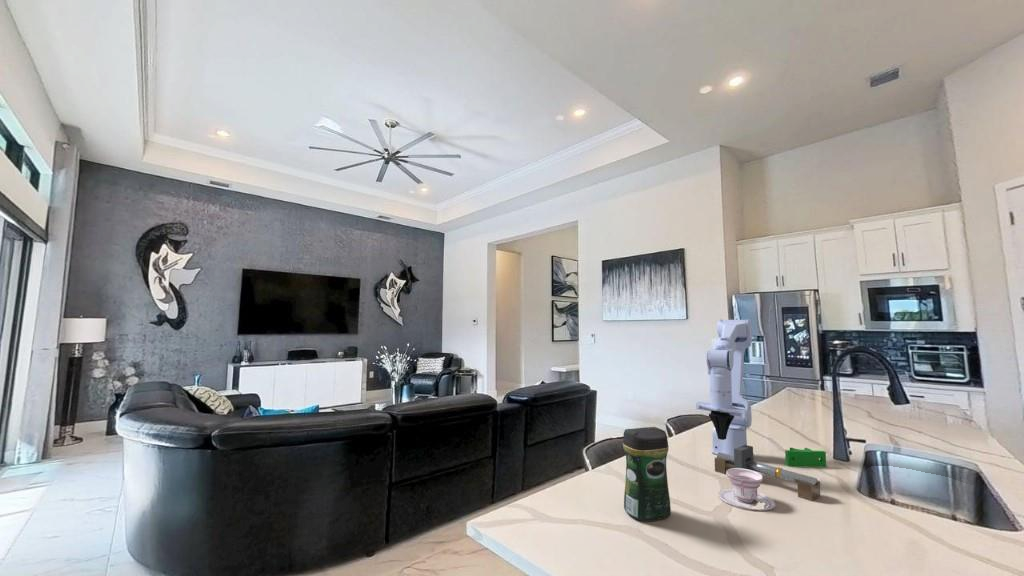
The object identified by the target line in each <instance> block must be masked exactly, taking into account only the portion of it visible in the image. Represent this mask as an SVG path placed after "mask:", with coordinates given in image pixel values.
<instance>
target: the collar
mask: <svg viewBox="0 0 1024 576" xmlns="http://www.w3.org/2000/svg"><path fill="white" fill-rule="evenodd" d="M744 459H747V460H751V461H754V447H753V446H752V445H748V444H747V445H744V446H741V447H738V448H735V449H734V468H743V469H746V468H745V461H744ZM752 471H753V470H752Z"/></svg>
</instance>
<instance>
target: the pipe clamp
mask: <svg viewBox="0 0 1024 576" xmlns="http://www.w3.org/2000/svg"><path fill="white" fill-rule="evenodd" d="M784 454H785V457H784V458H785V466H787V467H802V468H803V467H805V468H806V467H807V468H809V467H813V468H814V467H815V468H827V453H826V451H825V450H812V449H810V448H808V447H804V449H798V448H794V447H789V449H785V450H784Z"/></svg>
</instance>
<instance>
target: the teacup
mask: <svg viewBox="0 0 1024 576" xmlns="http://www.w3.org/2000/svg"><path fill="white" fill-rule="evenodd" d="M725 475H726V476H727V477H728V478H729V482H730V483H731V486H732V487H728V488H723V489H720V490H719V491H718V494H717V495H718V499H720V500H721V501H723V502H725V503H726V504H728V505H731V506H734V507H736V508H739V509H743V510H748V511H753V512H754V511H757V512H764V511H765V512H766V511H771V510H774V509H775V507H776V503H775V501H774V500H773V499H772V498H771V497H769V496H767V495H765V494H763V493H761V492H758V488H759V487H760V485H761V483H762V482H763V481H764V476H763V475H762V473H760V472H756V471H752V470H749V469H743V468H731V469H728V470H727V471H726V474H725ZM736 498H737V499H736ZM754 500H755V501H756V503H754V504H752V503H753V502H754ZM757 502H760V503H763V502H764V503H765V505H764V509H752V508H751V507H752V505H753V506H756V505H757ZM768 505H769V506H768ZM767 506H768V507H767ZM766 507H767V508H766Z"/></svg>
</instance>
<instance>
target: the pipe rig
mask: <svg viewBox="0 0 1024 576" xmlns="http://www.w3.org/2000/svg"><path fill="white" fill-rule="evenodd" d="M744 461H745V468H746V469H749V470H753V471H755V472H758V473H759V474H763V475H767V476H771V477H774V478H776V479H779V480H784V481H788V482H791V483H795V484H797V497H798V498H800V499H804V500H808V501H810V502H813V501H815V500H816V499H818V498H820V497H822V495H821V481H820V480H818V478H816V477H813V476H811V475H810V476H809V475H806V474H802V473H798V472H794V471H791V470H787V469H784V468H783V467H778V466H777V467H776V466H773V465H768V464H765V463H762V462H759V461H755V460H753V461H751V460H747V459H744ZM731 468H734V456H732V455H729V454H725V453H721V452H719V453H718V454H716V457H714V471H715V472H717V473H720V474H723V475H727V474H726V471H727V470H728V469H731Z"/></svg>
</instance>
